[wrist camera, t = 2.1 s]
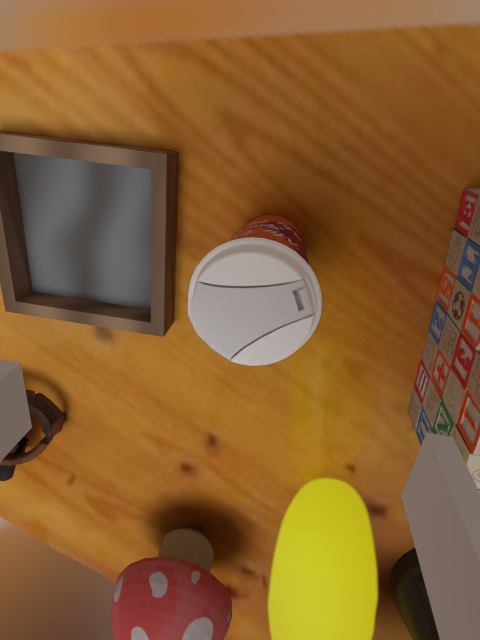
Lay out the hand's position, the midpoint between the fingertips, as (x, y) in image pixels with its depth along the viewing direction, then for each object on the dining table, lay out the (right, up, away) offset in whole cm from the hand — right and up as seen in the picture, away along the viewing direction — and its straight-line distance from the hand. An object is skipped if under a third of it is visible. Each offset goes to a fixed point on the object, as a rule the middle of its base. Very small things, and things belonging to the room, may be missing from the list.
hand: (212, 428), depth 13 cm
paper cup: (+4, +10, +21) cm, 24 cm away
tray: (-12, +11, +23) cm, 28 cm away
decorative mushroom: (-5, -24, +39) cm, 46 cm away
